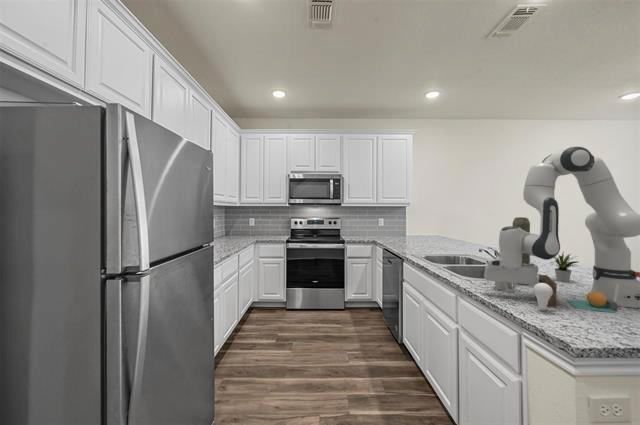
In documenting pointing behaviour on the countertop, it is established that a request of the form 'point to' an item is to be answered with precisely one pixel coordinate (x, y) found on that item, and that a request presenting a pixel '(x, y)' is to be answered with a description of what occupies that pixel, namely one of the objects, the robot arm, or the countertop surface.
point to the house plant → (563, 268)
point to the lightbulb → (542, 294)
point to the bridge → (553, 285)
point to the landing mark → (588, 306)
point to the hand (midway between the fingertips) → (509, 292)
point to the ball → (596, 299)
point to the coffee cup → (502, 285)
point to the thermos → (525, 226)
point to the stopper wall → (611, 305)
